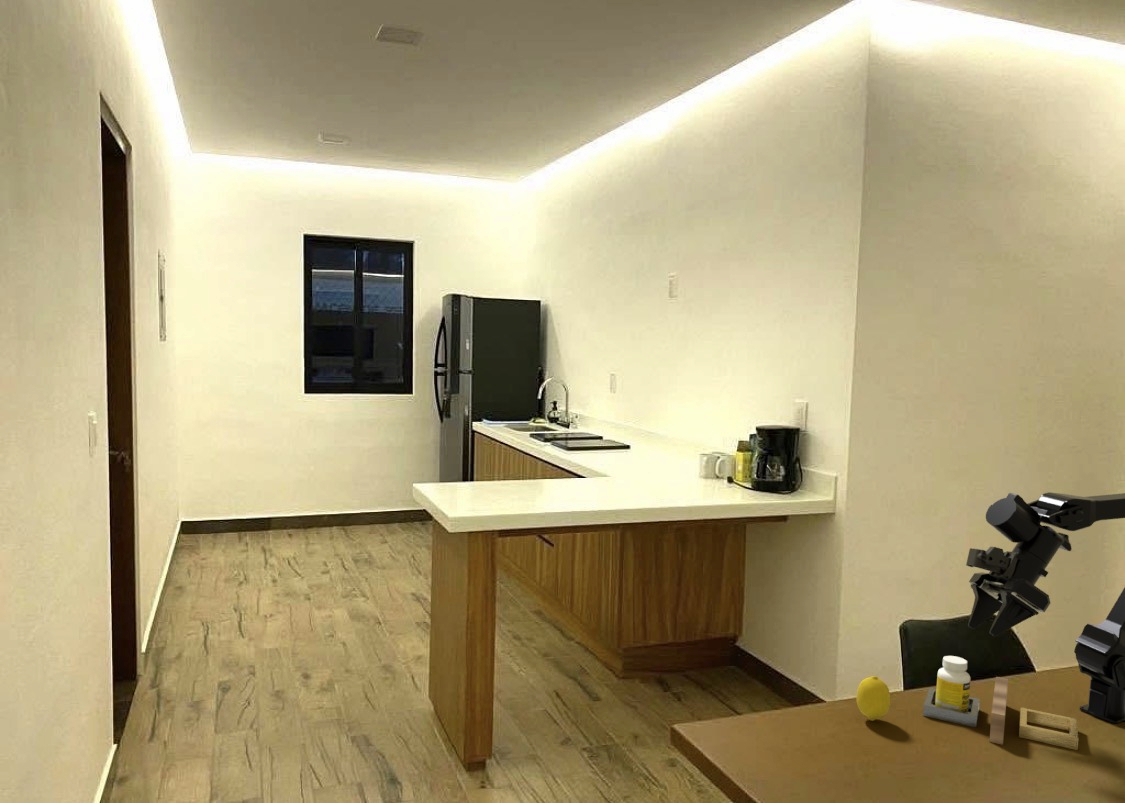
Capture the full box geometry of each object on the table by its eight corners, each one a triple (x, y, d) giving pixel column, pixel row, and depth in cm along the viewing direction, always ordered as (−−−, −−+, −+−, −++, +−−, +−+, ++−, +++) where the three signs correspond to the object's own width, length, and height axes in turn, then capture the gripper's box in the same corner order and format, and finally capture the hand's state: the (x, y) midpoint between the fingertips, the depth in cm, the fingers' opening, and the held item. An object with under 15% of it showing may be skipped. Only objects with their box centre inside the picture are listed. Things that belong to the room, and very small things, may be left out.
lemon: (891, 729, 145) (894, 683, 144) (857, 725, 146) (860, 680, 146) (885, 715, 150) (888, 671, 150) (853, 711, 152) (855, 668, 151)
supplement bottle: (966, 722, 149) (969, 667, 148) (932, 714, 152) (936, 660, 151) (969, 711, 153) (973, 658, 153) (937, 703, 156) (940, 651, 156)
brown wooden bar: (994, 703, 157) (995, 676, 157) (1006, 705, 156) (1008, 679, 156) (989, 741, 142) (991, 712, 141) (1002, 744, 141) (1004, 715, 140)
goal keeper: (1019, 718, 151) (1020, 707, 151) (1075, 730, 147) (1076, 718, 147) (1018, 737, 144) (1019, 725, 143) (1077, 750, 139) (1078, 738, 139)
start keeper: (928, 698, 158) (929, 688, 158) (979, 709, 154) (979, 698, 154) (923, 715, 151) (923, 704, 151) (976, 727, 147) (976, 716, 147)
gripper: (968, 528, 158) (922, 597, 157) (1013, 530, 140) (960, 608, 139) (1021, 564, 157) (975, 634, 156) (1073, 570, 138) (1021, 650, 137)
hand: (980, 631), depth 147 cm, fingers open, 9 cm apart
